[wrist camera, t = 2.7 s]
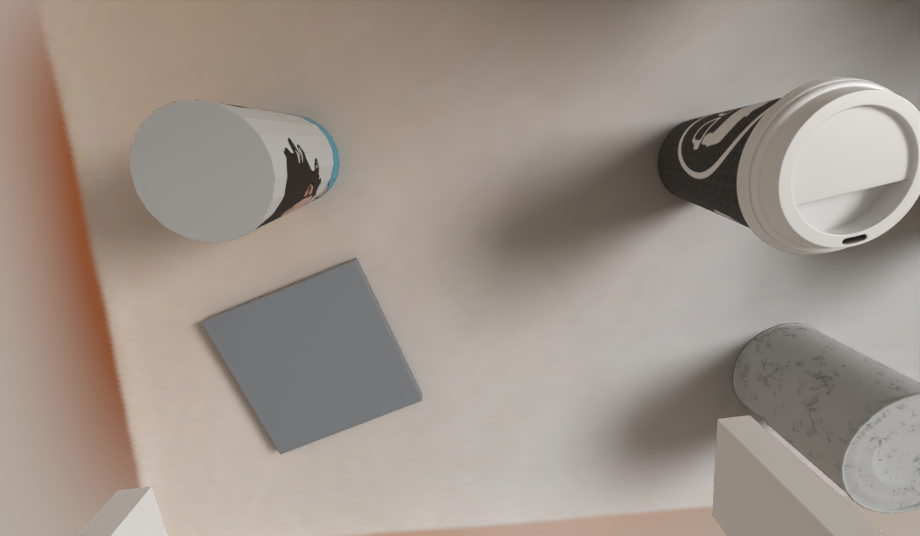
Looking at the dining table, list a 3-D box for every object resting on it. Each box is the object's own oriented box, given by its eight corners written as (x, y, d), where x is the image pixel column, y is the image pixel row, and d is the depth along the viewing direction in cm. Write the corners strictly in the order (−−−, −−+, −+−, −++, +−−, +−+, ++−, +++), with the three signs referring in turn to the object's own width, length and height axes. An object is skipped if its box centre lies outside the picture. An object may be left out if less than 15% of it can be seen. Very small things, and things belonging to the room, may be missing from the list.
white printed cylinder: (234, 145, 36) (98, 151, 22) (304, 97, 35) (212, 69, 21) (287, 218, 38) (195, 268, 23) (356, 173, 37) (303, 196, 23)
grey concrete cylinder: (743, 428, 45) (851, 531, 33) (722, 345, 43) (831, 424, 31) (840, 394, 45) (984, 486, 33) (824, 307, 42) (974, 373, 30)
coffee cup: (626, 208, 39) (737, 249, 24) (656, 87, 36) (800, 54, 22) (733, 225, 40) (902, 274, 25) (770, 108, 37) (981, 89, 23)
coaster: (206, 318, 40) (201, 322, 39) (356, 257, 39) (354, 260, 38) (283, 447, 44) (280, 454, 43) (422, 394, 43) (421, 400, 42)
